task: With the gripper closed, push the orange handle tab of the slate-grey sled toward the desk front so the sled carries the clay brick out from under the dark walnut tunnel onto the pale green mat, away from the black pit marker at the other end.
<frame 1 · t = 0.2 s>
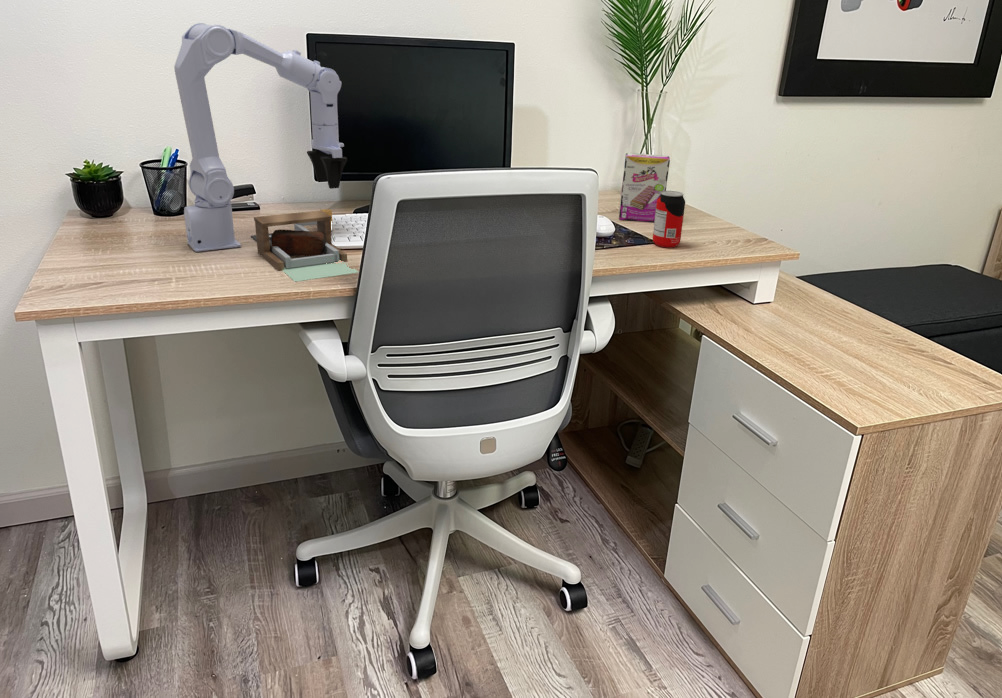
hand: (328, 184, 179), 10 cm above the table, tool pointing down, fingers open, 7 cm apart
sled: (309, 236, 167), point 3 cm above the table, slide at 0.0 cm, touching brick
beverage can: (665, 245, 180), on the table
candy bar box: (640, 220, 202), on the table
tunnel: (295, 251, 165), on the table
brick: (300, 255, 163), touching sled
pit marker: (272, 238, 174), on the table
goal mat: (318, 269, 154), on the table
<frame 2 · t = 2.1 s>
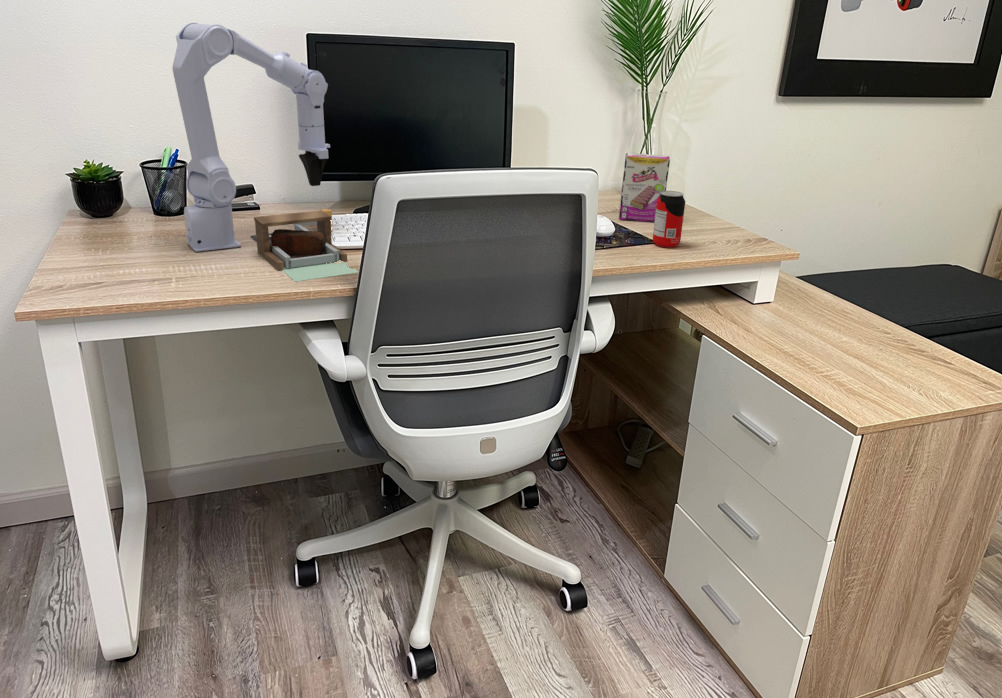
hand: (315, 185, 182), 9 cm above the table, tool pointing down, fingers closed
nothing on the table moved.
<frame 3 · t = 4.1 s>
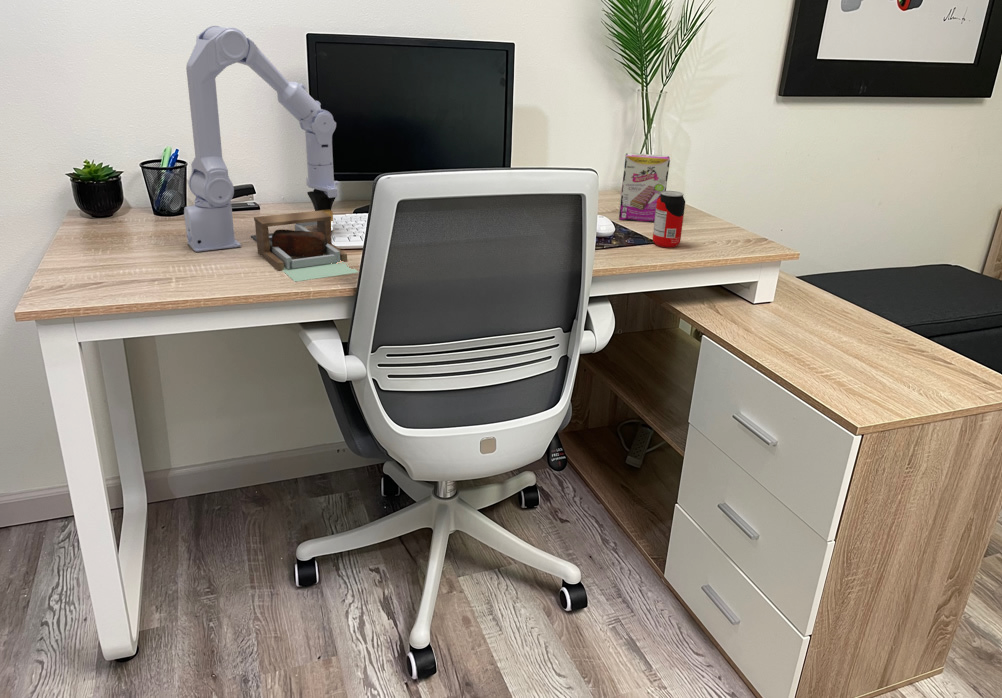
hand: (323, 222, 182), 2 cm above the table, tool pointing down, fingers closed
sled: (310, 236, 167), point 3 cm above the table, slide at 0.6 cm, touching brick, gripper
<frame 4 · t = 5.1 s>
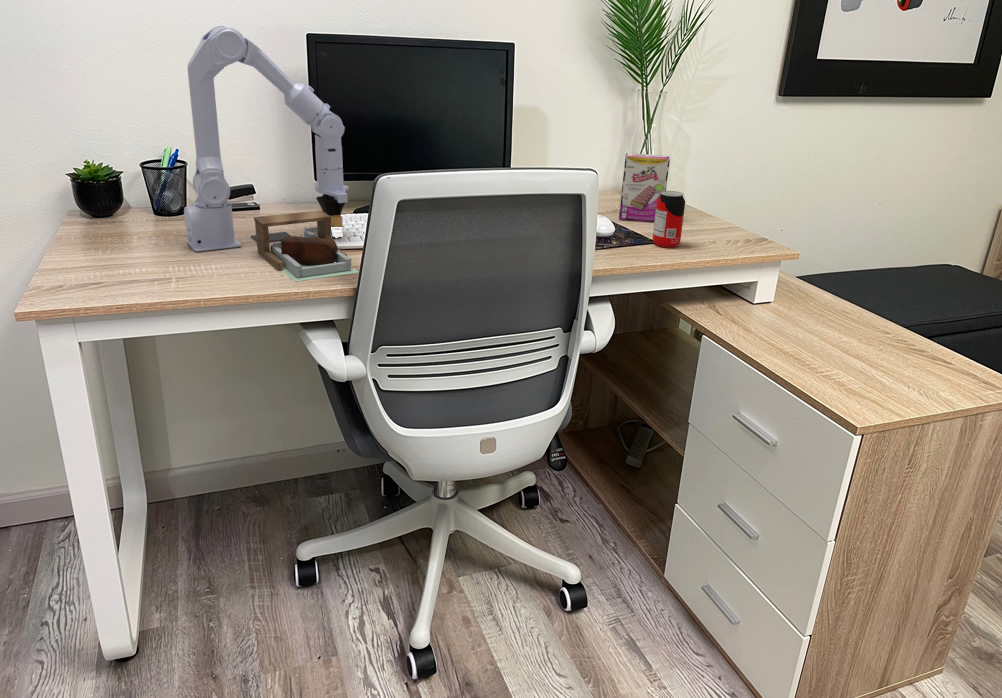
hand: (332, 228, 177), 2 cm above the table, tool pointing down, fingers closed
sled: (319, 243, 162), point 3 cm above the table, slide at 6.4 cm, touching brick, gripper
brick: (310, 262, 158), touching sled
everything else where it was.
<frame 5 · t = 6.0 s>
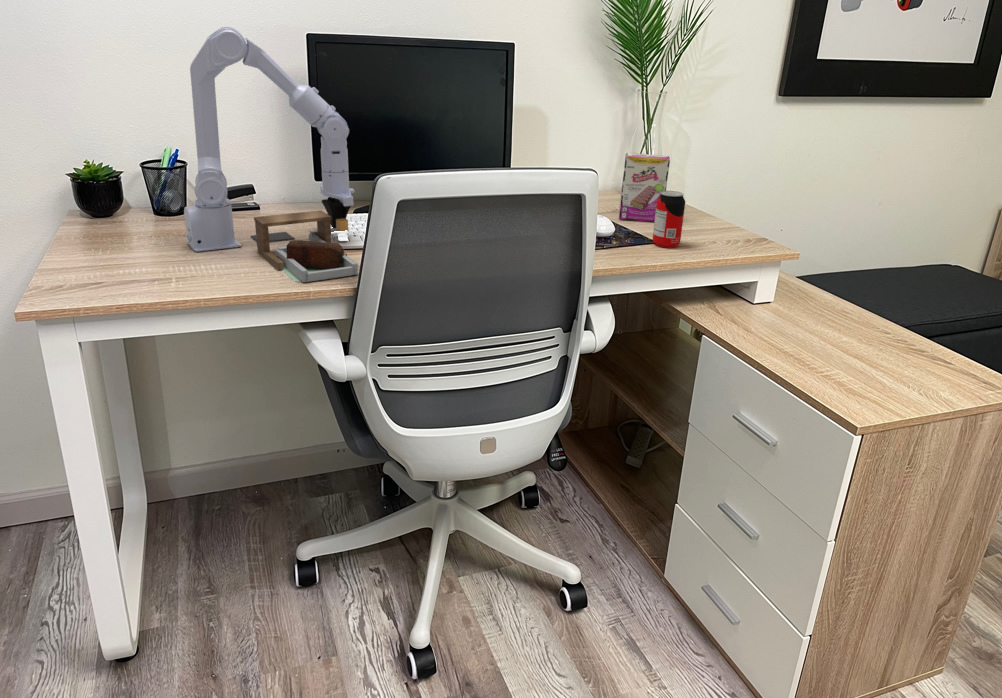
hand: (338, 231, 175), 2 cm above the table, tool pointing down, fingers closed
sled: (325, 247, 160), point 3 cm above the table, slide at 9.6 cm, touching brick, gripper
brick: (316, 267, 155), touching sled
everything else where it was.
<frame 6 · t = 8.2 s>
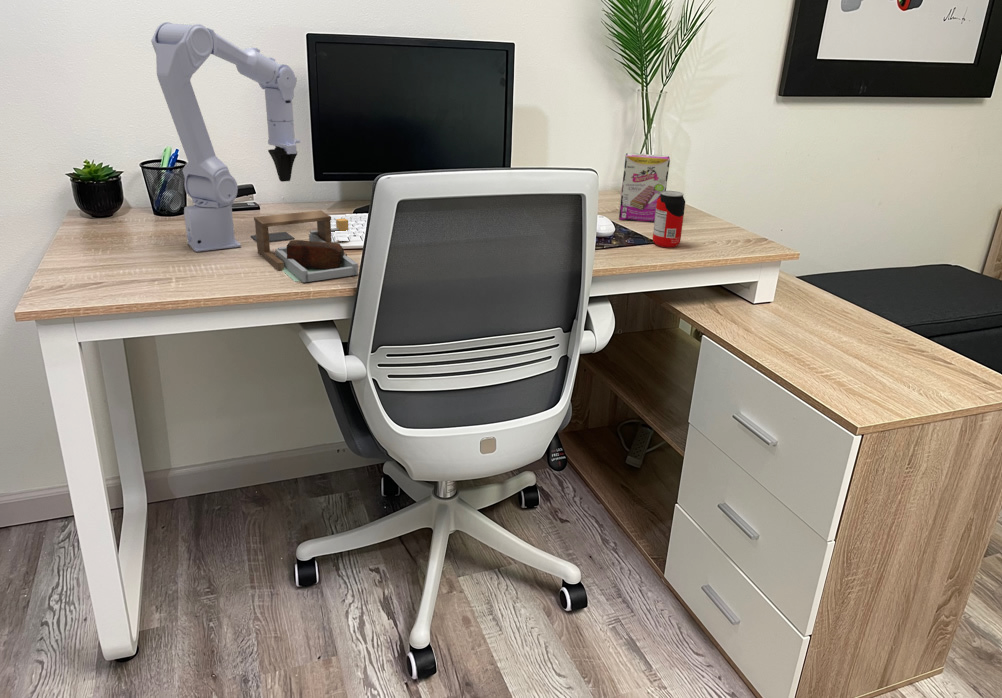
hand: (284, 180, 181), 10 cm above the table, tool pointing down, fingers closed
sled: (325, 247, 159), point 3 cm above the table, slide at 9.7 cm, touching brick
everything else where it was.
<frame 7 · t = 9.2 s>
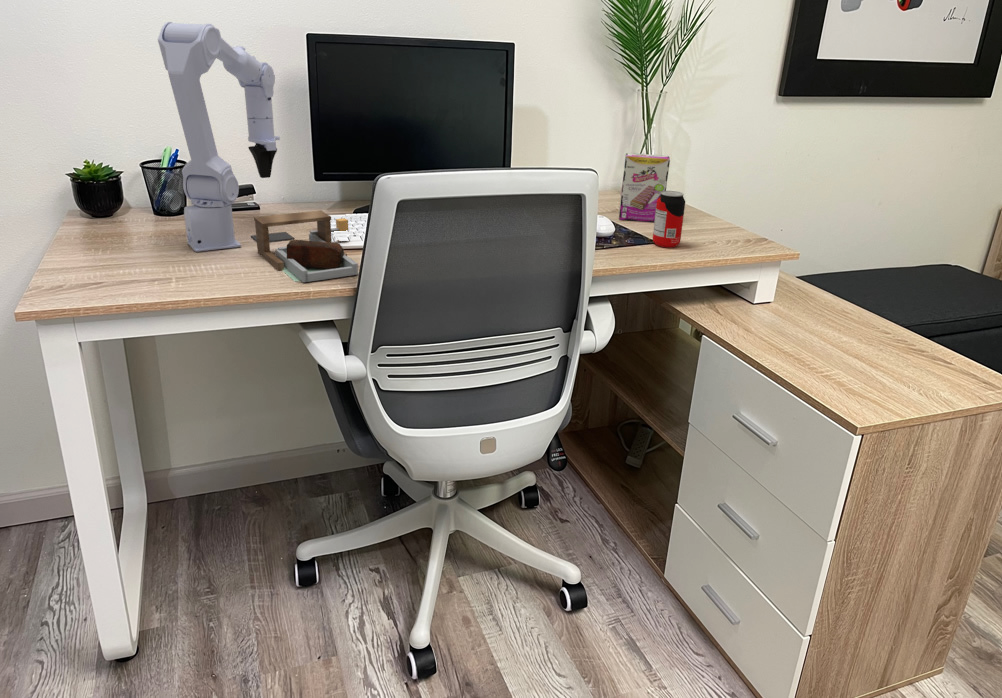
hand: (265, 177, 184), 10 cm above the table, tool pointing down, fingers closed
nothing on the table moved.
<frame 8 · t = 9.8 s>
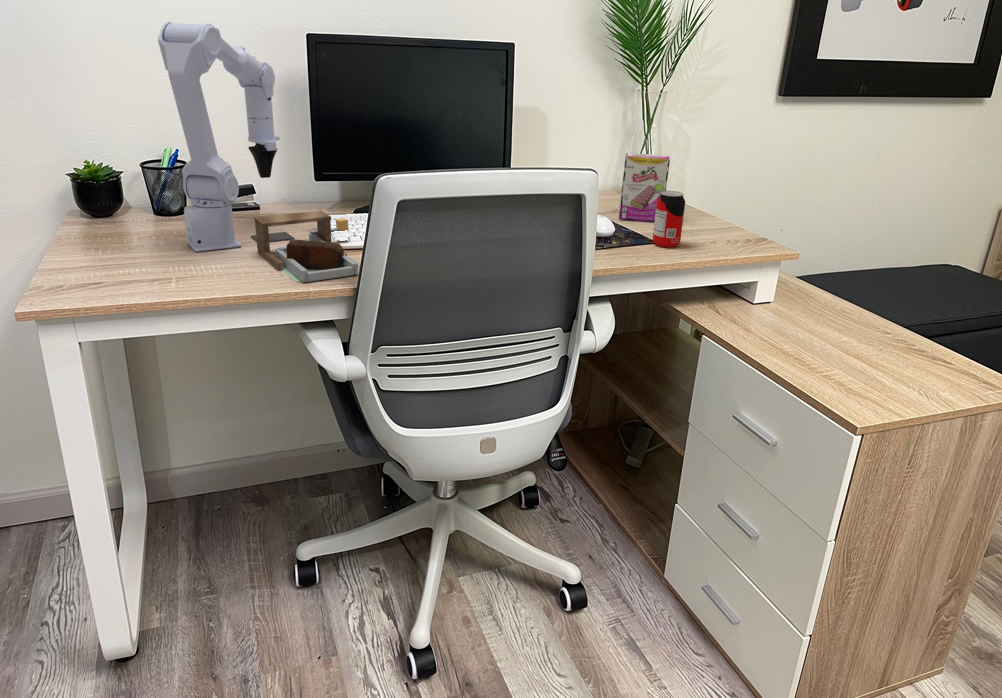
hand: (265, 177, 184), 10 cm above the table, tool pointing down, fingers closed
nothing on the table moved.
at the end: sled slide at 9.6 cm; brick tilted 1° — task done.
